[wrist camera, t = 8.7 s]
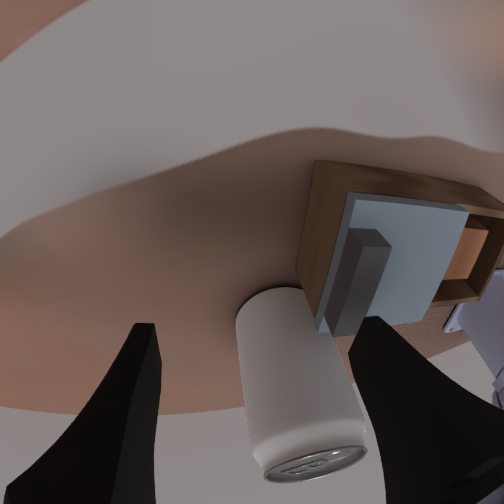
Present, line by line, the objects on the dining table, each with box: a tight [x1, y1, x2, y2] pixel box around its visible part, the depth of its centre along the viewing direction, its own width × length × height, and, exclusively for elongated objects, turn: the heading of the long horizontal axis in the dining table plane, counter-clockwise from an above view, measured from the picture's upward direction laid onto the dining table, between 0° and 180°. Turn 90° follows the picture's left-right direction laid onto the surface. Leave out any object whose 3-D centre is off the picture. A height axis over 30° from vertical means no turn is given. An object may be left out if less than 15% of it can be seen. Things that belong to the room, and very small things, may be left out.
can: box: [235, 287, 368, 483], centre depth 18 cm, size 6×6×12 cm
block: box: [442, 215, 489, 280], centre depth 19 cm, size 4×4×4 cm
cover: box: [314, 192, 470, 337], centre depth 14 cm, size 7×8×2 cm
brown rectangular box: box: [296, 160, 504, 319], centre depth 18 cm, size 14×8×5 cm, turn 85°
